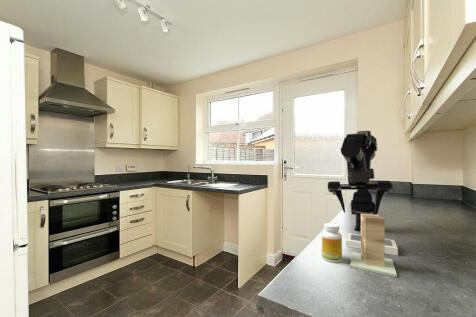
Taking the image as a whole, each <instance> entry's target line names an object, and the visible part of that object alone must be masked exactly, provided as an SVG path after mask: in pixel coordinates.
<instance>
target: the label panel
mask: <svg viewBox="0 0 476 317" xmlns="http://www.w3.org/2000/svg"><path fill="white" fill-rule="evenodd" d="M396 243H397V242H396V241H395V239H389V238H385V254H386V255H394V256H399V248H398V245H397V244H396ZM345 247H347V248H353V249H357V250H359V249H360V250H361V234H356V233H355V234H354V233H348V232H347V235H346V240H345Z"/></svg>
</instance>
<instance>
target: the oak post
mask: <svg viewBox="0 0 476 317" xmlns="http://www.w3.org/2000/svg"><path fill="white" fill-rule="evenodd" d="M385 220H386V219H385V218H384V217H383V216H381V215H380V214H377V215H374V214H361V231H360V235H361V249H360V254H361V259H362V260H363V262H364V263H365V265H373V266H382V267H385V258H386V257H385V254H386V253H385V239H386V237H385V236H386V235H385V234H386V233H385V232H386V231H385V227H386V224H385Z"/></svg>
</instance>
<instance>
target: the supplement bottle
mask: <svg viewBox="0 0 476 317" xmlns="http://www.w3.org/2000/svg"><path fill="white" fill-rule="evenodd" d="M323 225H324V226H323V231H322V232H321V258H322V259H323V260H324V261H326V262H329V263H340V262H342V260H343V250H342V248H343V246H342V245H343V236H342V234H341V233H340V232H339V231H340V226H339V224H337V223H332V222H330V223H328V222H326V223H324V224H323Z"/></svg>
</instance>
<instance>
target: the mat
mask: <svg viewBox="0 0 476 317" xmlns="http://www.w3.org/2000/svg"><path fill="white" fill-rule="evenodd" d="M350 268H354V269H356V270H357V269H358V270H362V271H365V272H366V271H367V272H372V273H376V274H381V275H385V276H390V277H394V278H398V277H397V275H398V274H397V270H396V267H395V264H394V261H393V259H392V258H387V257H385V267H382V266H373V265H365V263H364V262H363V260H362V259H361V252H360V253H359V252H354V251H352V252H351V257H350Z"/></svg>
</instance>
